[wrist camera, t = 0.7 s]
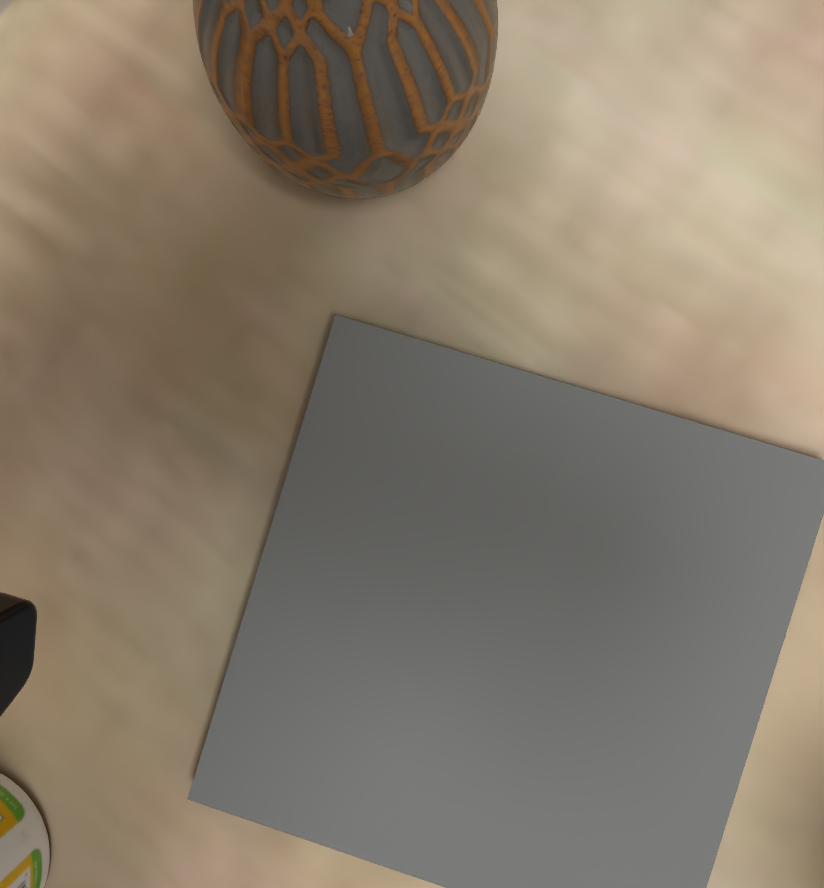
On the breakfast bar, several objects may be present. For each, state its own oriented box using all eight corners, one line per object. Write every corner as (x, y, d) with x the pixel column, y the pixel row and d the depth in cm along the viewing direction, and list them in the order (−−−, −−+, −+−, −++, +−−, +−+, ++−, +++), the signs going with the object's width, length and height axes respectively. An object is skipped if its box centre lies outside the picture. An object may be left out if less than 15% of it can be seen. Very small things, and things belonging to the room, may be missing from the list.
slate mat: (671, 947, 20) (680, 968, 19) (197, 785, 21) (187, 799, 20) (822, 463, 20) (838, 464, 19) (339, 319, 20) (335, 314, 20)
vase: (538, 83, 20) (605, -195, 11) (389, 278, 20) (342, 149, 12) (347, -59, 21) (269, -435, 12) (202, 134, 21) (19, -95, 12)
